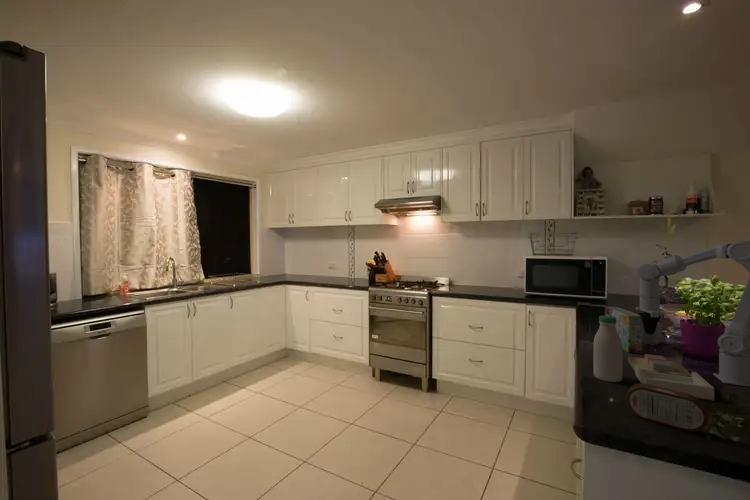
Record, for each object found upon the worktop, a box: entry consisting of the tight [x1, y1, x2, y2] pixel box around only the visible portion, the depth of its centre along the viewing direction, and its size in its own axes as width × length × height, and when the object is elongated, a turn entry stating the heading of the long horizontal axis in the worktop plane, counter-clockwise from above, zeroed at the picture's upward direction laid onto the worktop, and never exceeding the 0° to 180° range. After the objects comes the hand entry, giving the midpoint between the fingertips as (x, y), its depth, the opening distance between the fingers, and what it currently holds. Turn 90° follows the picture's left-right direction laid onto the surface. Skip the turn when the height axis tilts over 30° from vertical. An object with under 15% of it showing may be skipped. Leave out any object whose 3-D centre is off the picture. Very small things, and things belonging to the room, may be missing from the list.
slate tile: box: [649, 359, 673, 372], centre depth 111 cm, size 5×5×2 cm
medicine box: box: [642, 322, 663, 346], centre depth 146 cm, size 8×4×9 cm, turn 120°
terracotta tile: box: [644, 353, 668, 364], centre depth 116 cm, size 5×5×2 cm
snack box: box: [605, 306, 643, 355], centre depth 142 cm, size 21×6×15 cm, turn 167°
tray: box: [635, 365, 715, 402], centre depth 101 cm, size 15×13×4 cm
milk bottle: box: [593, 315, 623, 383], centre depth 108 cm, size 8×8×20 cm
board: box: [627, 355, 692, 377], centre depth 114 cm, size 14×14×2 cm
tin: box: [626, 383, 710, 432], centre depth 81 cm, size 15×3×8 cm, turn 45°
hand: (649, 333), depth 123 cm, fingers closed
